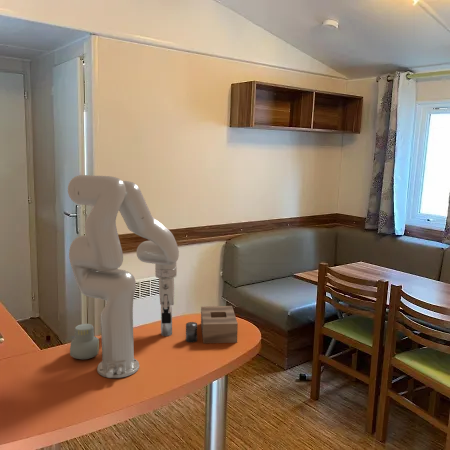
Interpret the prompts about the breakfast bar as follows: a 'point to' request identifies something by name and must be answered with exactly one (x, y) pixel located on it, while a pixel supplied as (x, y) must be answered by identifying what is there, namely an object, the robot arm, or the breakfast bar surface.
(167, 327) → the tall steel pin
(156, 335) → the breakfast bar surface
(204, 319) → the walnut block
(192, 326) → the short black pin
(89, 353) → the air freshener
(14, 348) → the breakfast bar surface
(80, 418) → the breakfast bar surface
